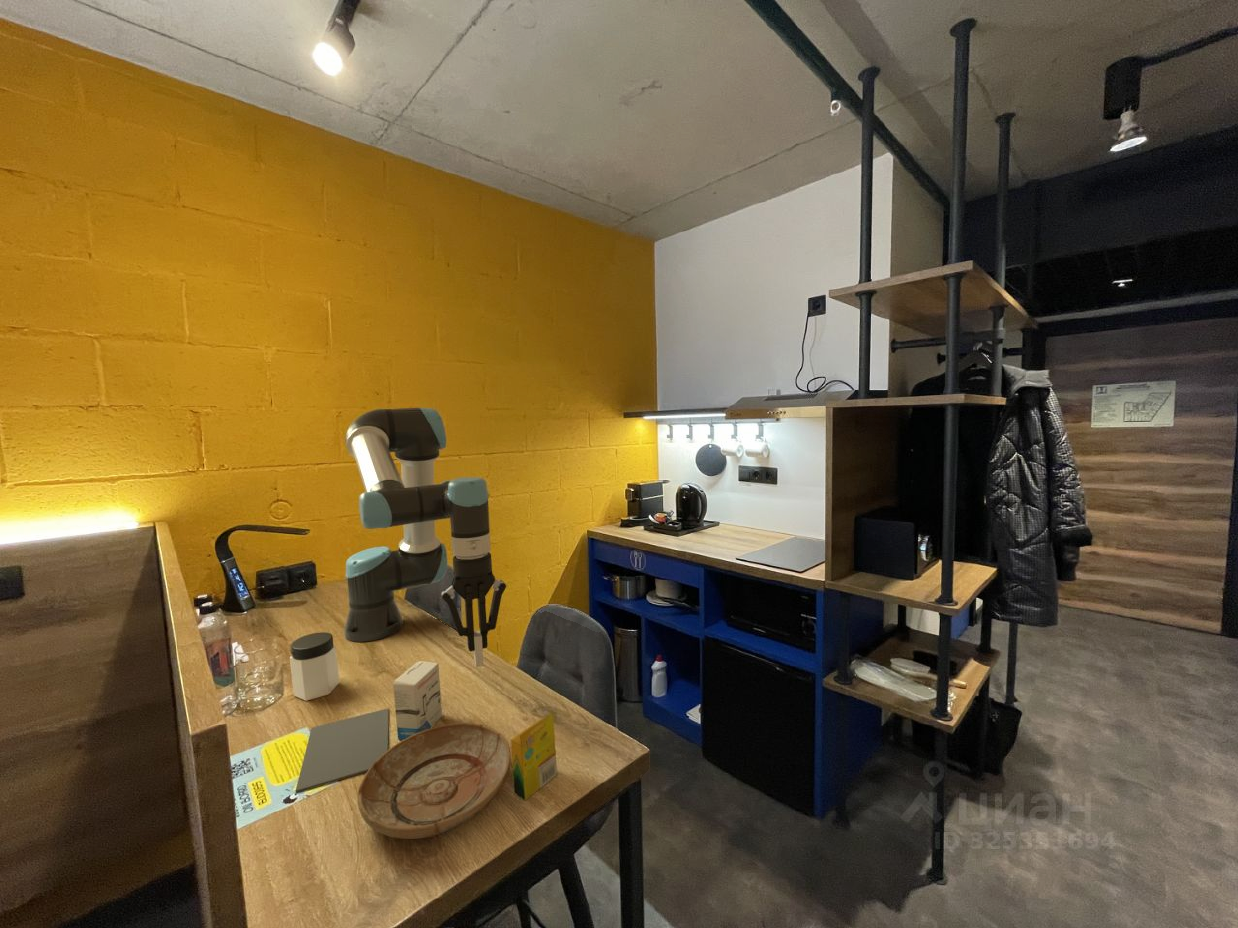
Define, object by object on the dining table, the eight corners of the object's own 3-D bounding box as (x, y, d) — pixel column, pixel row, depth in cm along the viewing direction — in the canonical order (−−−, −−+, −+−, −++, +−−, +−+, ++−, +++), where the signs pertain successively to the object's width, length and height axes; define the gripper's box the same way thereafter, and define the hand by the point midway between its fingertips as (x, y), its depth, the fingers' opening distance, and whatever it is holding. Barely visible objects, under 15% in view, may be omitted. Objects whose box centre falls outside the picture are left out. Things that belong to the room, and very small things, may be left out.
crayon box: (546, 767, 87) (543, 705, 85) (558, 774, 85) (555, 712, 84) (513, 793, 81) (509, 728, 80) (524, 801, 79) (521, 735, 78)
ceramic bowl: (403, 746, 93) (400, 721, 93) (525, 746, 93) (524, 721, 92) (327, 858, 70) (324, 826, 70) (489, 859, 70) (487, 827, 69)
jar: (310, 679, 117) (305, 631, 115) (345, 677, 117) (340, 630, 116) (286, 702, 108) (280, 650, 107) (324, 700, 108) (318, 649, 107)
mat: (311, 729, 99) (311, 727, 99) (388, 709, 104) (388, 708, 104) (295, 792, 82) (295, 790, 82) (387, 765, 88) (387, 763, 88)
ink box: (419, 742, 94) (414, 685, 93) (396, 739, 95) (391, 682, 94) (443, 714, 102) (439, 661, 101) (422, 712, 103) (418, 659, 102)
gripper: (439, 564, 93) (447, 680, 96) (508, 554, 99) (513, 664, 102) (436, 553, 100) (444, 662, 103) (500, 544, 105) (506, 648, 108)
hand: (478, 663), depth 102 cm, fingers closed
